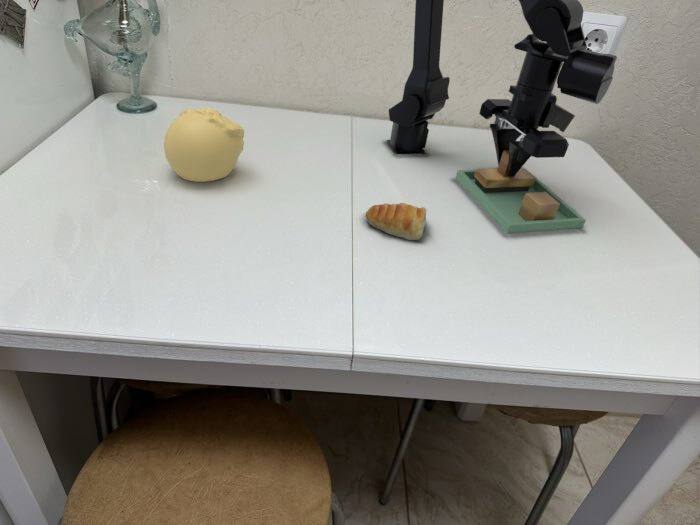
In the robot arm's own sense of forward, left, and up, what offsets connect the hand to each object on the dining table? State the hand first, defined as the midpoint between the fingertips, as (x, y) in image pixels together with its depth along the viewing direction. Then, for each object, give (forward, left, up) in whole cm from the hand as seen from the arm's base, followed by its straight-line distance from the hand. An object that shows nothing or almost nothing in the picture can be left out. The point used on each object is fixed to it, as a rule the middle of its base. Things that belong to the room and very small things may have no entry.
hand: (506, 171), depth 88 cm
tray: (0, -5, -4) cm, 6 cm away
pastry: (-24, -10, -4) cm, 26 cm away
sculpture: (-52, +10, -4) cm, 53 cm away
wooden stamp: (0, 0, -3) cm, 3 cm away
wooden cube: (0, -11, -3) cm, 11 cm away
